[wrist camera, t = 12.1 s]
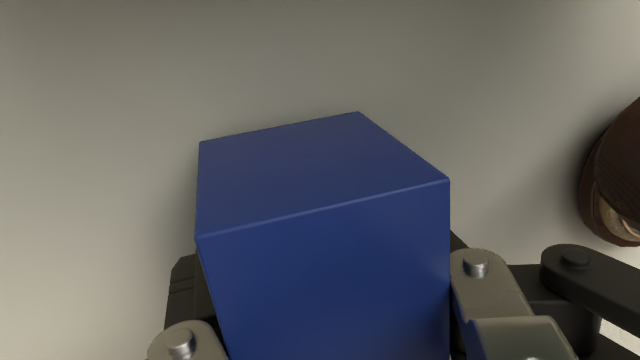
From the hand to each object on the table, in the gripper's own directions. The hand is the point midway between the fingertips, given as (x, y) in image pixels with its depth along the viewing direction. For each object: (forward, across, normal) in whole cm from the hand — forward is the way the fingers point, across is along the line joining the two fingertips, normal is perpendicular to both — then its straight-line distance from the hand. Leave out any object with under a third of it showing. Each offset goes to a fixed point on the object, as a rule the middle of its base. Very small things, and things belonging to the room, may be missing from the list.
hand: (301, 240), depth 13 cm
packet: (0, 0, 0) cm, 0 cm away
